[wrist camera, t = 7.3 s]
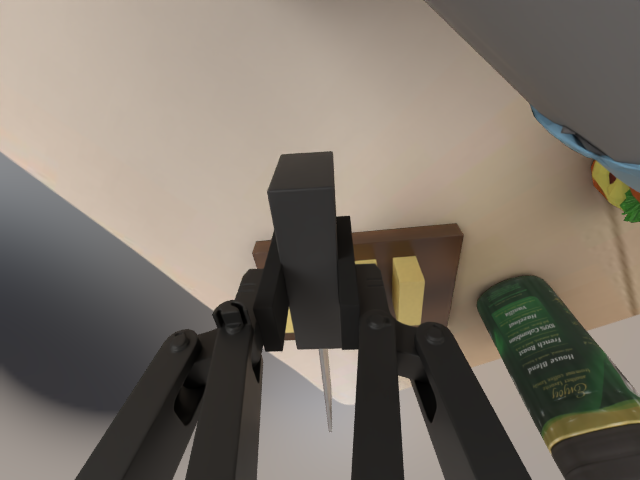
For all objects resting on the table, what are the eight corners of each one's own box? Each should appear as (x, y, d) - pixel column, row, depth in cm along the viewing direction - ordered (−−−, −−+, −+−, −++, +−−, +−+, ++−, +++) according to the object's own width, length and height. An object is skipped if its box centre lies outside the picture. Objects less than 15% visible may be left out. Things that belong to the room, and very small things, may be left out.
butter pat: (392, 257, 29) (399, 282, 26) (415, 255, 29) (425, 280, 26) (392, 300, 32) (398, 326, 29) (412, 298, 32) (420, 325, 29)
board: (256, 241, 31) (251, 253, 29) (456, 223, 29) (464, 234, 27) (283, 327, 39) (281, 340, 37) (441, 318, 37) (446, 331, 35)
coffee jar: (462, 294, 34) (567, 505, 19) (534, 261, 31) (727, 482, 16) (495, 335, 38) (602, 535, 23) (562, 310, 35) (735, 521, 20)
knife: (280, 154, 15) (266, 191, 11) (333, 150, 15) (334, 186, 11) (315, 389, 27) (314, 440, 24) (344, 388, 27) (346, 440, 24)
